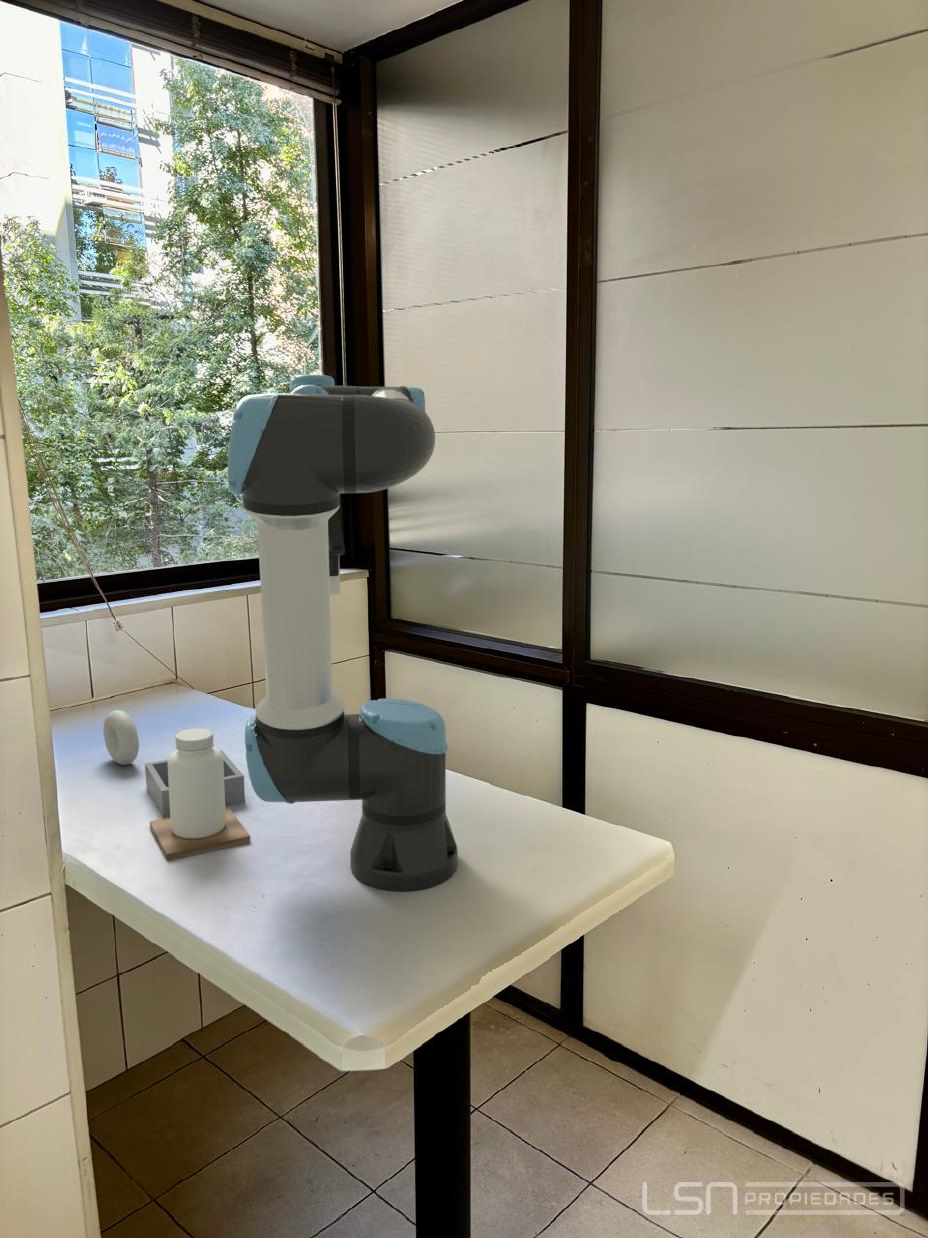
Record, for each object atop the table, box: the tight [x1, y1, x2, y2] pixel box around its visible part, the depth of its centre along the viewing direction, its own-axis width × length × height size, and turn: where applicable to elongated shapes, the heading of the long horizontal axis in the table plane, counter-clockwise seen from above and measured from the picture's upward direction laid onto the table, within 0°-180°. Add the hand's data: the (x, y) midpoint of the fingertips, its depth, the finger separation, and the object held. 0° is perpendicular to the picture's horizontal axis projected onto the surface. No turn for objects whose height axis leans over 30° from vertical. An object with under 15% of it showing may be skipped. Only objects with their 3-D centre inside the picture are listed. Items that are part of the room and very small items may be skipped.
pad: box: [149, 805, 251, 862], centre depth 136 cm, size 12×12×1 cm
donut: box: [102, 709, 140, 766], centre depth 163 cm, size 10×4×10 cm, turn 43°
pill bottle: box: [167, 728, 226, 839], centre depth 135 cm, size 8×8×15 cm
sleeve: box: [144, 750, 246, 819], centre depth 150 cm, size 13×13×4 cm
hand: (317, 587), depth 162 cm, fingers open, 13 cm apart
